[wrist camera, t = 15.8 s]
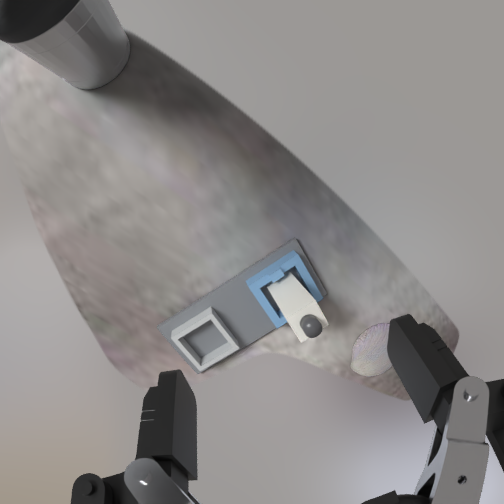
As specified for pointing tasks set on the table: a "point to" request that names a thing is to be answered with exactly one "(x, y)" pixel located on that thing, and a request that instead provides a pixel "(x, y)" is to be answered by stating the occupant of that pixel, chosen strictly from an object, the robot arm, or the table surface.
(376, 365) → the seashell
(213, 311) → the socket
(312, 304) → the white knobbed square peg
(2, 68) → the table surface
